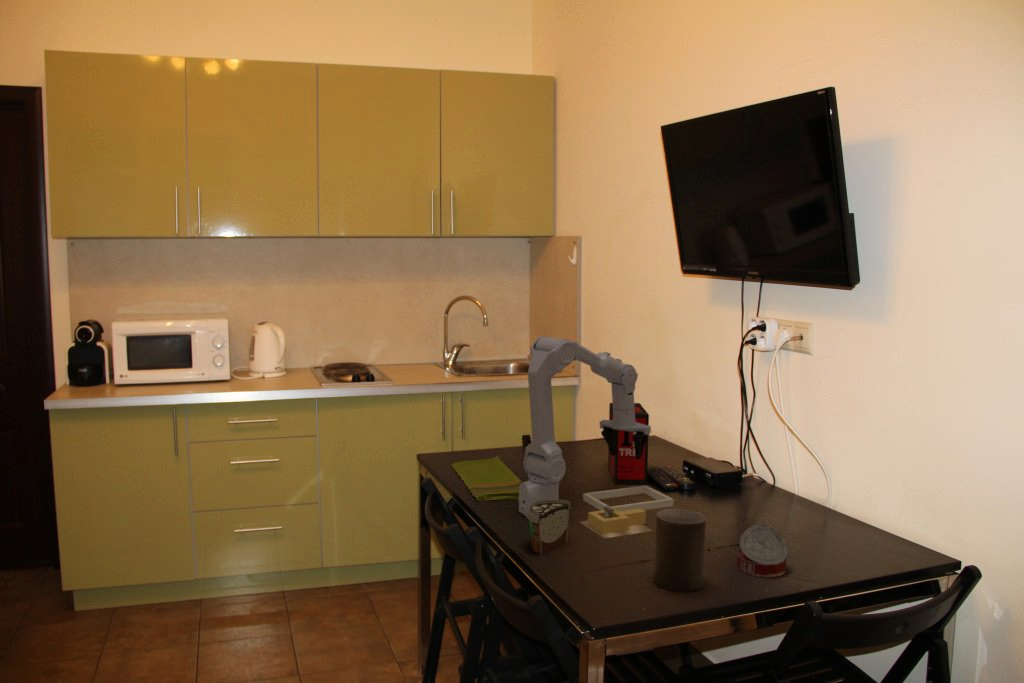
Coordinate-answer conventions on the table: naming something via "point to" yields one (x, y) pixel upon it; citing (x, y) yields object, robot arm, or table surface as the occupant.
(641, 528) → the board
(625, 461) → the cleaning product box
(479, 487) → the dish towel
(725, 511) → the table surface
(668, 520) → the pillar candle
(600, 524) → the tabbed collar
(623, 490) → the tray
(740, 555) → the canned food
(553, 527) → the food container
